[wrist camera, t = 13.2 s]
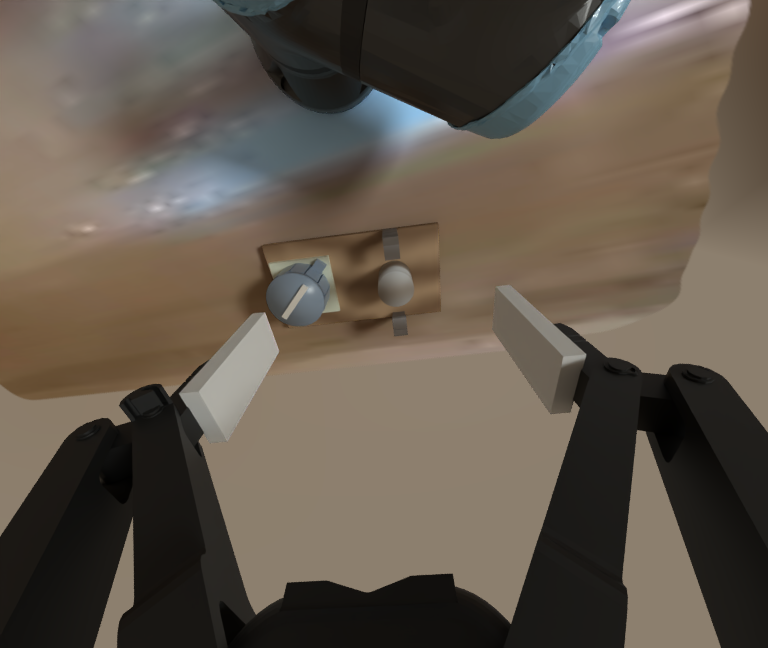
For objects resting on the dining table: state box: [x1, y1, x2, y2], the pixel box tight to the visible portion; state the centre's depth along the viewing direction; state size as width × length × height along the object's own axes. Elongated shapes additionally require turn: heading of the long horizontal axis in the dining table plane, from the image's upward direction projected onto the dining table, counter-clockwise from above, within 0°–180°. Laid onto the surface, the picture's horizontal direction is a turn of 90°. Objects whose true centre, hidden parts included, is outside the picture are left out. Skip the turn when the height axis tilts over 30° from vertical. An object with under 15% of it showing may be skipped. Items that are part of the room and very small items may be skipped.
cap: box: [266, 259, 330, 327], centre depth 41 cm, size 11×8×6 cm
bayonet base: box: [262, 222, 441, 336], centre depth 42 cm, size 14×26×7 cm, turn 97°
